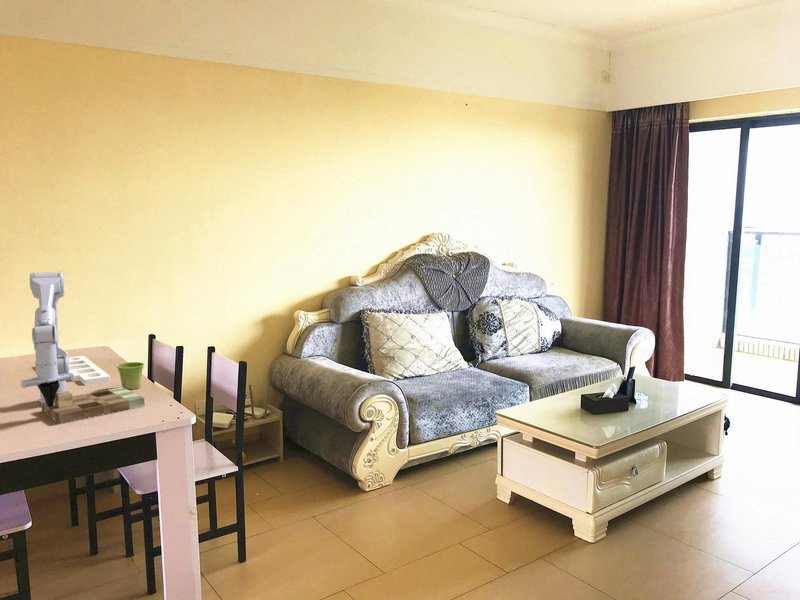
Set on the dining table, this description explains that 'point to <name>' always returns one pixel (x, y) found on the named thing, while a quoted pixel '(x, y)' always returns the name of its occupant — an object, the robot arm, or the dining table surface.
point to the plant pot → (130, 374)
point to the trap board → (95, 405)
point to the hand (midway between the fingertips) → (49, 405)
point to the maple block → (63, 399)
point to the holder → (86, 371)
